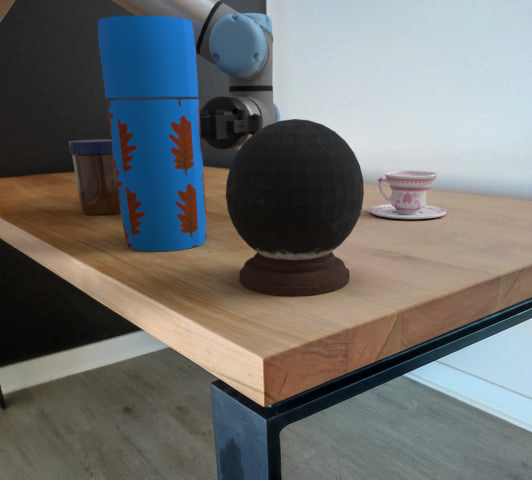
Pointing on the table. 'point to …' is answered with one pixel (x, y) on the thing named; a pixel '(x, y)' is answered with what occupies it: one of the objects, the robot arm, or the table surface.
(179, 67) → the thermos
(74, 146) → the lid
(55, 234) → the table surface
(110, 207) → the jar
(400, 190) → the teacup
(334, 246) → the black crystal ball
